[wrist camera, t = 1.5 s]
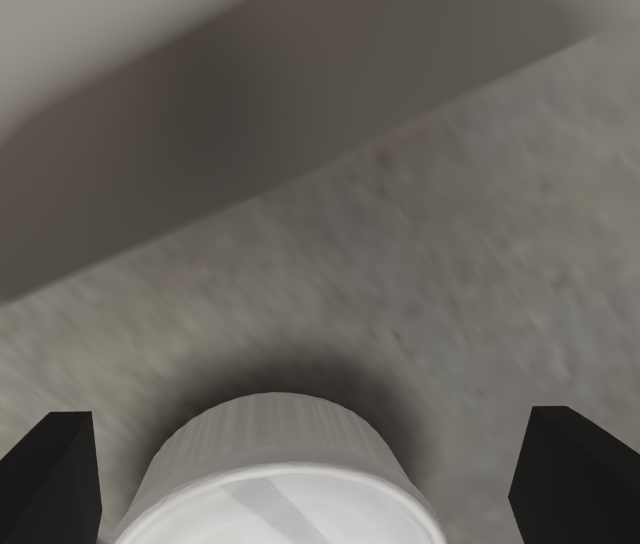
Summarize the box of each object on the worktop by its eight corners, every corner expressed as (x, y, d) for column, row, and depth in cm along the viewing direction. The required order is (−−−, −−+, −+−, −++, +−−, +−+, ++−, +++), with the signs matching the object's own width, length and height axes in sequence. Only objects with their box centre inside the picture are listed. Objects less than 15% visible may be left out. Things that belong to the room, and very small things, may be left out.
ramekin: (457, 398, 22) (511, 503, 18) (358, 598, 26) (381, 729, 21) (162, 331, 20) (132, 432, 15) (103, 562, 24) (64, 700, 19)
